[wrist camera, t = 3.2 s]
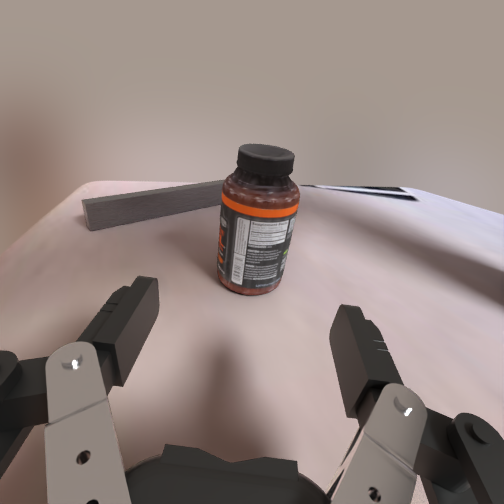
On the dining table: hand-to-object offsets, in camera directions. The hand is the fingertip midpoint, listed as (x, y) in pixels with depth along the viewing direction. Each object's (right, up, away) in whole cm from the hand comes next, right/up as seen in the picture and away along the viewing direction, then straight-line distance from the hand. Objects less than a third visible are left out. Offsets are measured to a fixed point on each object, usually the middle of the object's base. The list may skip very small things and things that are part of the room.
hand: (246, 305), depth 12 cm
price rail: (-10, +8, +23) cm, 26 cm away
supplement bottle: (0, 0, +13) cm, 13 cm away
